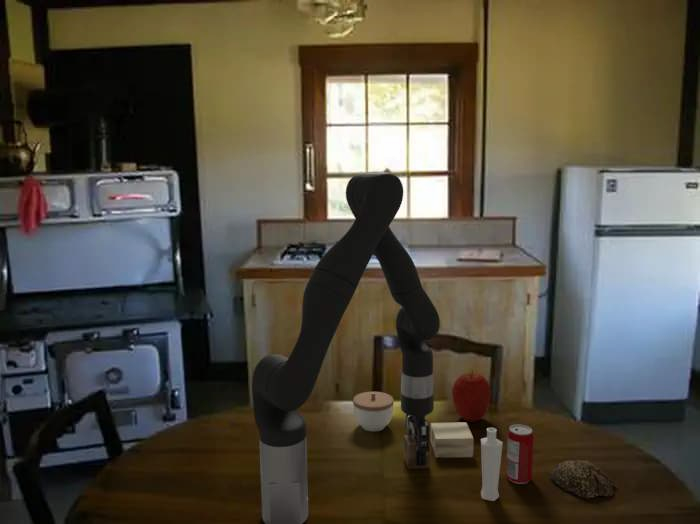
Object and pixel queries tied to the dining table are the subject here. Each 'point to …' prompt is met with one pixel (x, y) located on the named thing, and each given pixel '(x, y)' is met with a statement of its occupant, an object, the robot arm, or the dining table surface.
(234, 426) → the dining table surface
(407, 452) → the walnut block
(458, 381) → the apple
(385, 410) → the lidded jar
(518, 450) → the soda can
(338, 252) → the robot arm
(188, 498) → the dining table surface
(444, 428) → the birch block
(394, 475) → the dining table surface
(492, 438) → the perfume bottle
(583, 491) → the bread roll
